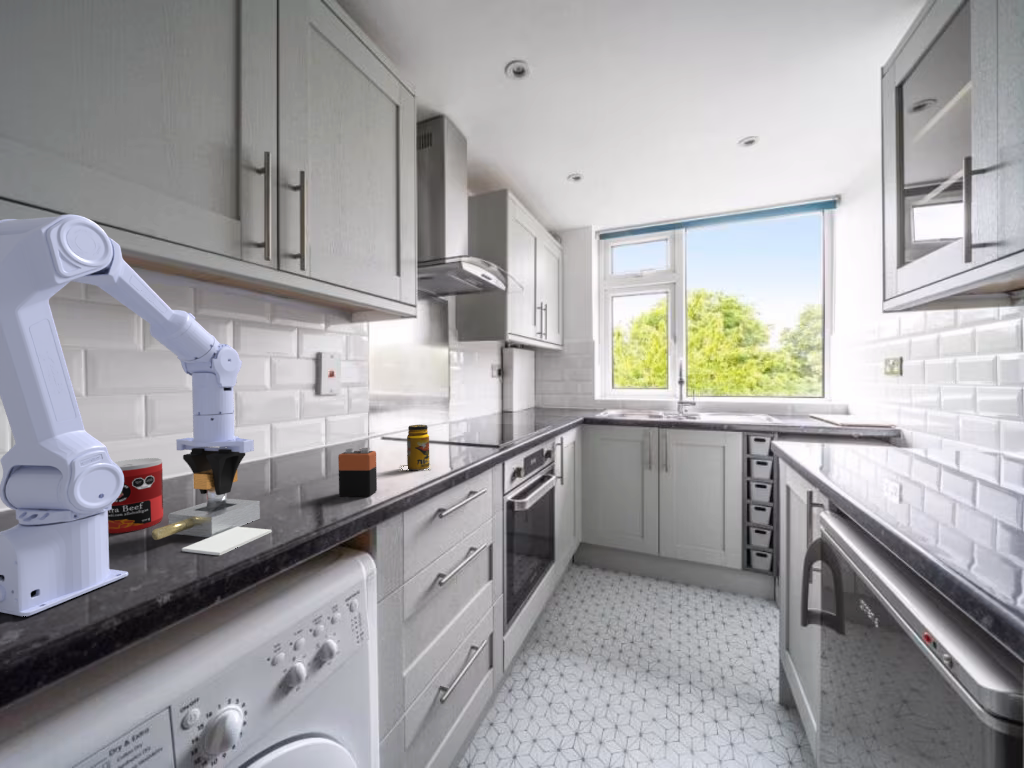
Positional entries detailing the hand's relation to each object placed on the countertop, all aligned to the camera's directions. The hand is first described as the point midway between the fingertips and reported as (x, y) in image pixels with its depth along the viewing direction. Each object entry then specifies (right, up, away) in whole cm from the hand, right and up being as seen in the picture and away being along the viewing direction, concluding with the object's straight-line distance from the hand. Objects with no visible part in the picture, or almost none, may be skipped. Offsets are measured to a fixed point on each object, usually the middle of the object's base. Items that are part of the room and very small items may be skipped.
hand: (215, 492), depth 70 cm
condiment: (+24, -5, +43) cm, 50 cm away
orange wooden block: (0, -2, 0) cm, 2 cm away
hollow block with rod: (-1, -6, -2) cm, 6 cm away
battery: (+18, -5, +18) cm, 26 cm away
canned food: (-15, -6, +1) cm, 16 cm away
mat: (+7, -6, -7) cm, 11 cm away
